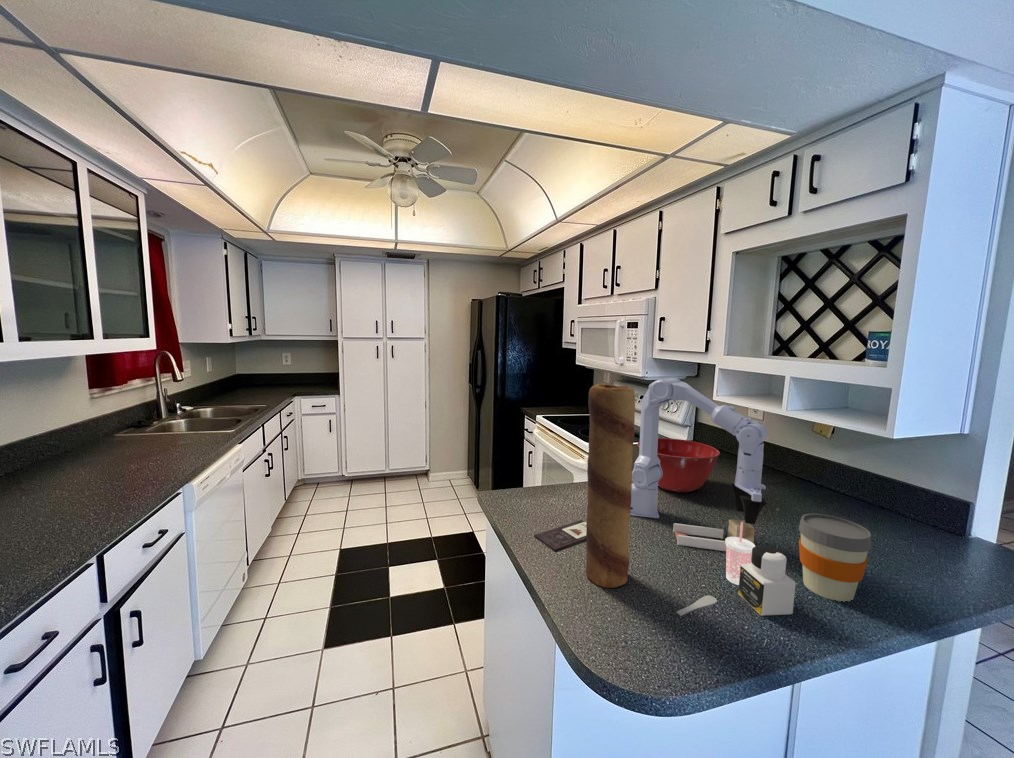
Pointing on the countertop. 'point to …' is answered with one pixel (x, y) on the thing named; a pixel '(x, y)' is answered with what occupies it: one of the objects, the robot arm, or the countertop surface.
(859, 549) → the reusable coffee cup
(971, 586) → the countertop surface
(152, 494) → the countertop surface
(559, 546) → the chocolate bar
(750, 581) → the medicine bottle
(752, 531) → the maple block
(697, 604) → the grey flat paddle piece
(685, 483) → the mixing bowl
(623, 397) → the wafer roll
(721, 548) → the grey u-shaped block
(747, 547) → the beverage cup
